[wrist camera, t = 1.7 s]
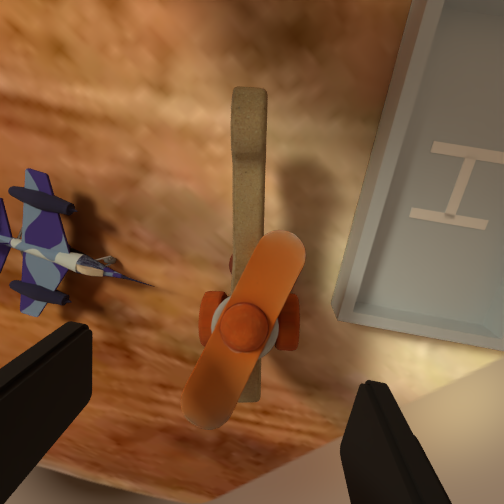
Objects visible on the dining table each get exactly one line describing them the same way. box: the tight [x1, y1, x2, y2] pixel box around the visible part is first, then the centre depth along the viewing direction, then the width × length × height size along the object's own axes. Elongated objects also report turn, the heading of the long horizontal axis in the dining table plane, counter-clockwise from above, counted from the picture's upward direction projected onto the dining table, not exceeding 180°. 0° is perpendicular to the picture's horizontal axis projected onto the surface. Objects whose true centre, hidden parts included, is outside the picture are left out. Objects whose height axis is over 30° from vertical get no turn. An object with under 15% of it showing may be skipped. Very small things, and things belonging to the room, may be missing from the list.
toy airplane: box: [0, 169, 154, 317], centre depth 25 cm, size 13×14×4 cm
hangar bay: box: [331, 0, 504, 351], centre depth 21 cm, size 24×14×3 cm, turn 171°
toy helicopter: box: [181, 87, 306, 430], centre depth 19 cm, size 8×21×14 cm, turn 0°
